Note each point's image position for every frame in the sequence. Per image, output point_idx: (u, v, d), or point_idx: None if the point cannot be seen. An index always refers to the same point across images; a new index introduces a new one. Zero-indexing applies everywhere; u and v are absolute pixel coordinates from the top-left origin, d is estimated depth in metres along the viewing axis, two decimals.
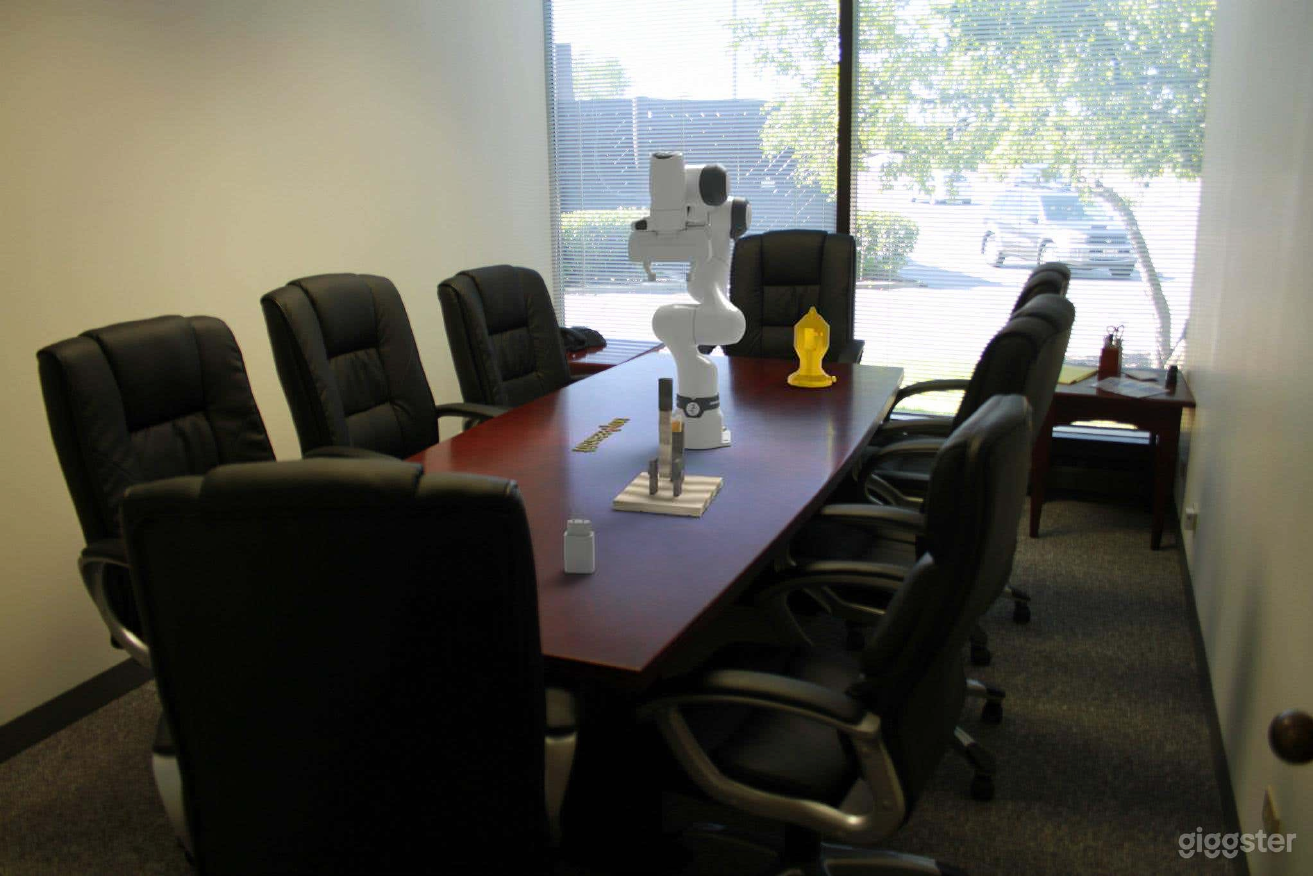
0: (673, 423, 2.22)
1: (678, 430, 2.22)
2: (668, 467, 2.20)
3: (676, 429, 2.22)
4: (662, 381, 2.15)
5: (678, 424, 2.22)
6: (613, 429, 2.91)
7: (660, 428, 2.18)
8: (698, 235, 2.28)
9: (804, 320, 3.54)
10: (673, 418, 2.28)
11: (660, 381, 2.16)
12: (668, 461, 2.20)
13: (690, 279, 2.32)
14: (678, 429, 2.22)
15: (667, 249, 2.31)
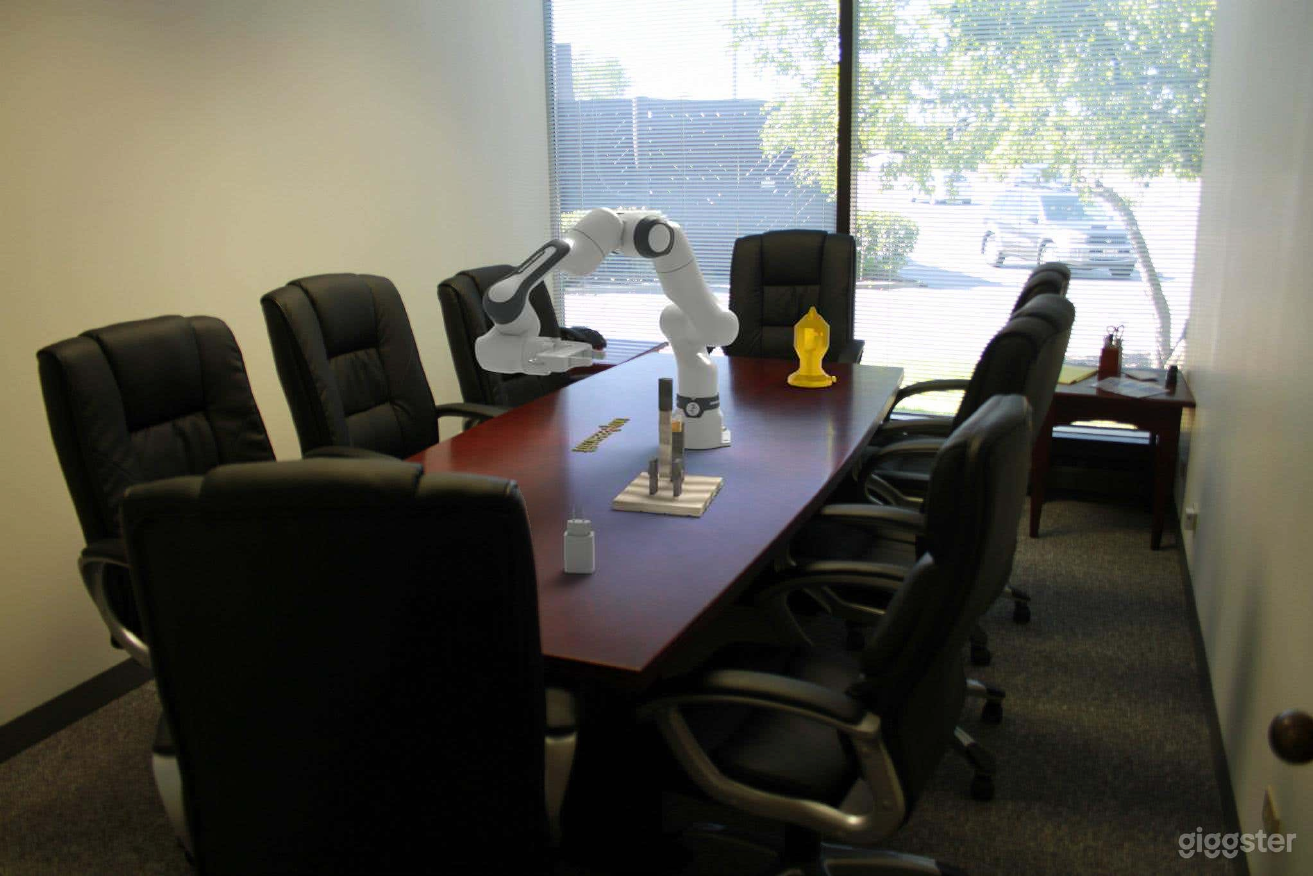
0: (673, 423, 2.22)
1: (678, 430, 2.22)
2: (668, 467, 2.20)
3: (676, 429, 2.22)
4: (662, 381, 2.15)
5: (678, 424, 2.22)
6: (613, 429, 2.91)
7: (660, 428, 2.18)
8: None
9: (804, 320, 3.54)
10: (673, 418, 2.28)
11: (660, 381, 2.16)
12: (668, 461, 2.20)
13: (589, 365, 2.19)
14: (678, 429, 2.22)
15: None
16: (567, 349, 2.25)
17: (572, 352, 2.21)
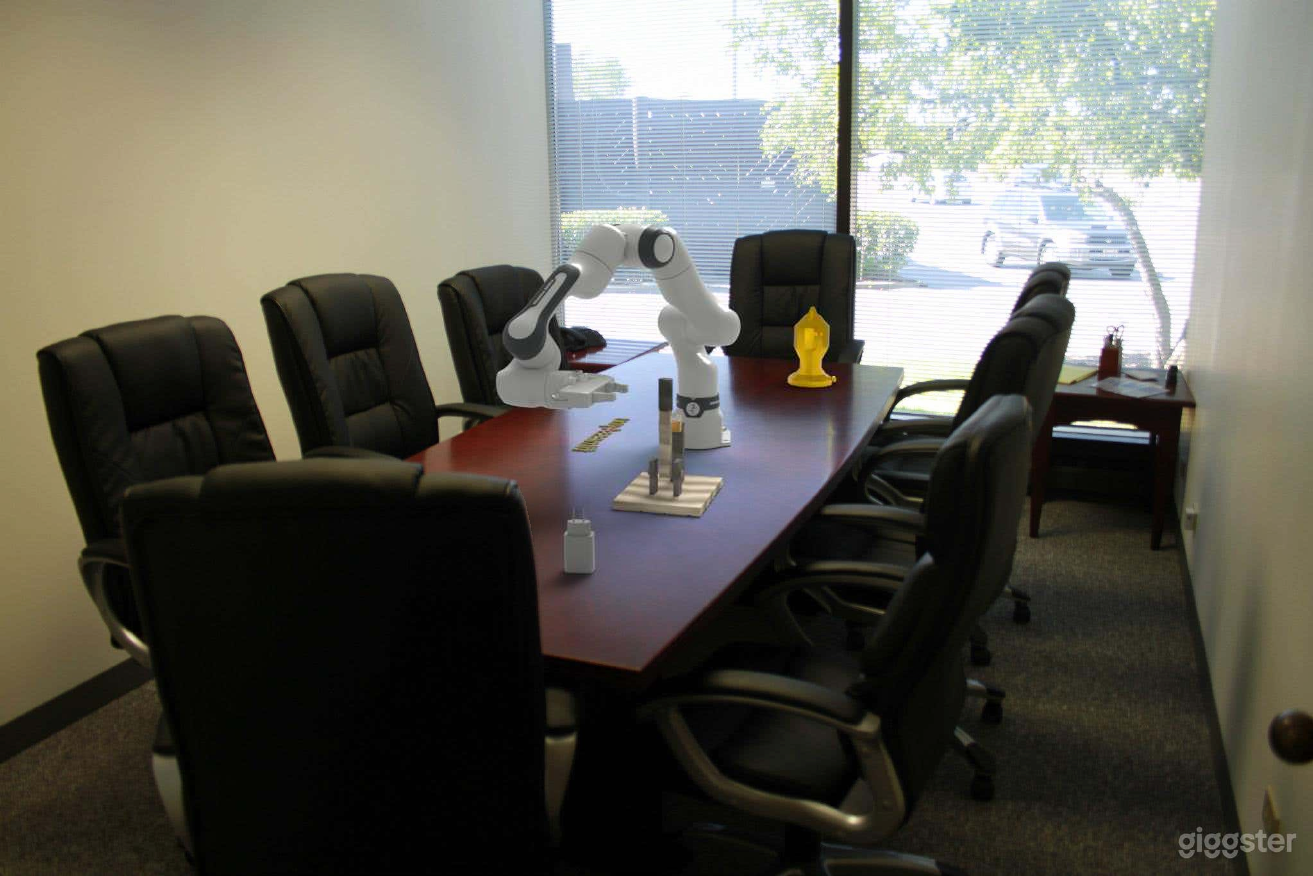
0: (673, 423, 2.22)
1: (678, 430, 2.22)
2: (668, 467, 2.20)
3: (676, 429, 2.22)
4: (662, 381, 2.15)
5: (678, 424, 2.22)
6: (613, 429, 2.91)
7: (660, 428, 2.18)
8: None
9: (804, 320, 3.54)
10: (673, 418, 2.28)
11: (660, 381, 2.16)
12: (668, 461, 2.20)
13: None
14: (678, 429, 2.22)
15: None
16: (590, 383, 2.22)
17: (595, 387, 2.18)
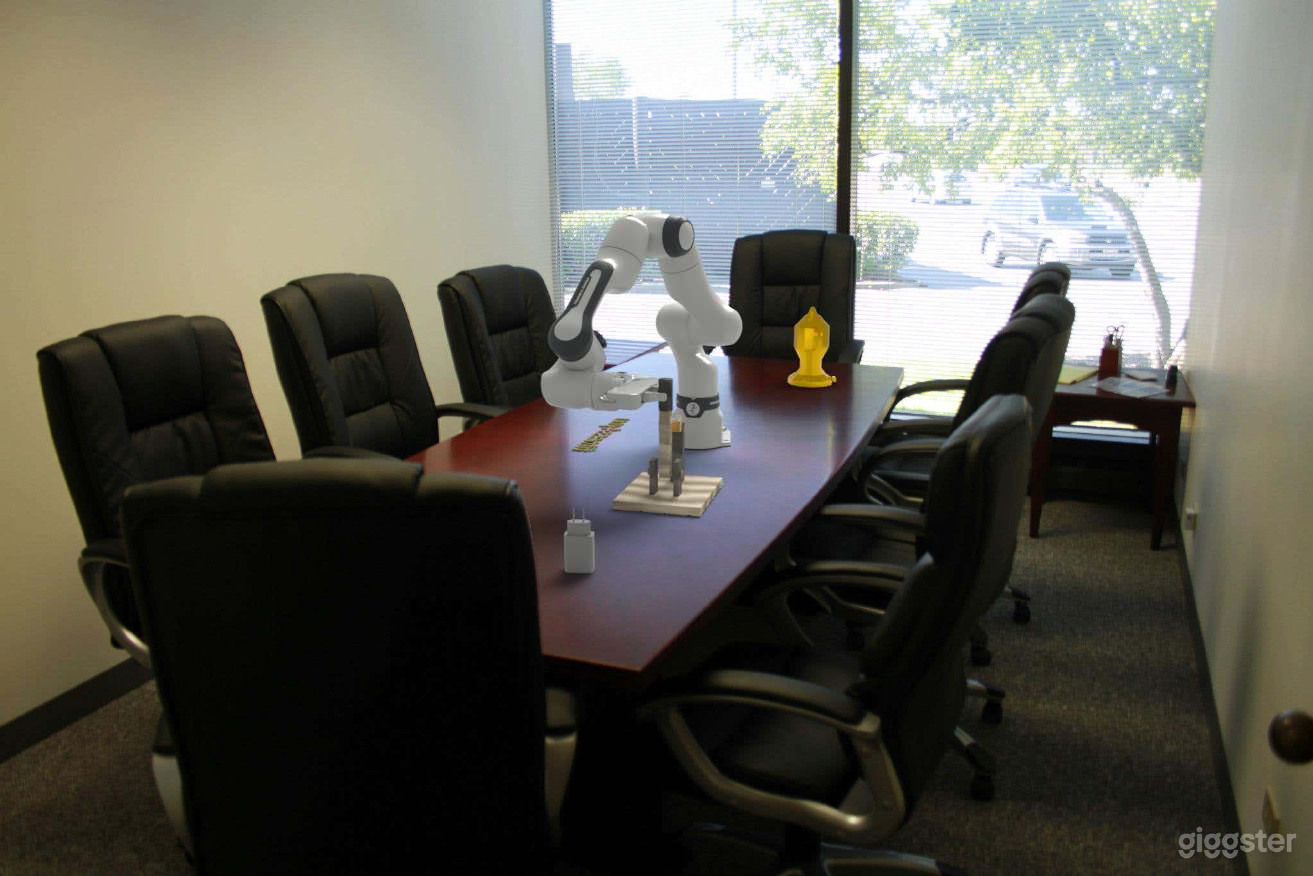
0: (673, 423, 2.22)
1: (678, 430, 2.22)
2: (668, 467, 2.20)
3: (676, 429, 2.22)
4: (662, 381, 2.15)
5: (678, 424, 2.22)
6: (613, 429, 2.91)
7: (660, 428, 2.18)
8: None
9: (804, 320, 3.54)
10: (673, 418, 2.28)
11: (660, 381, 2.16)
12: (668, 461, 2.20)
13: None
14: (678, 429, 2.22)
15: None
16: (637, 385, 2.19)
17: (643, 389, 2.15)
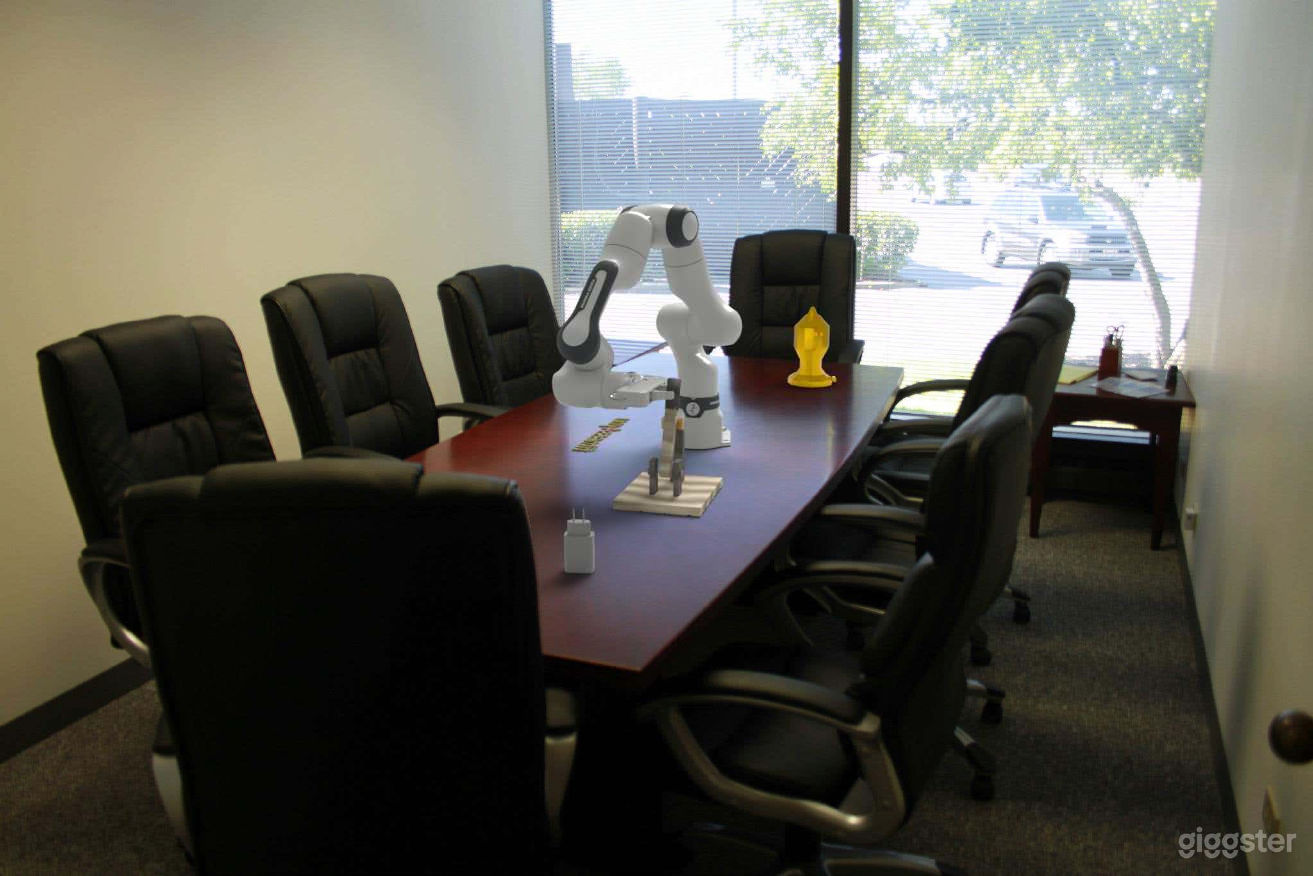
0: None
1: (681, 427, 2.24)
2: (669, 465, 2.21)
3: (679, 426, 2.24)
4: (671, 379, 2.23)
5: (681, 422, 2.24)
6: (613, 429, 2.91)
7: (665, 425, 2.22)
8: None
9: (804, 320, 3.54)
10: None
11: (669, 379, 2.23)
12: (669, 459, 2.21)
13: None
14: (681, 426, 2.24)
15: None
16: (645, 384, 2.25)
17: (651, 387, 2.22)
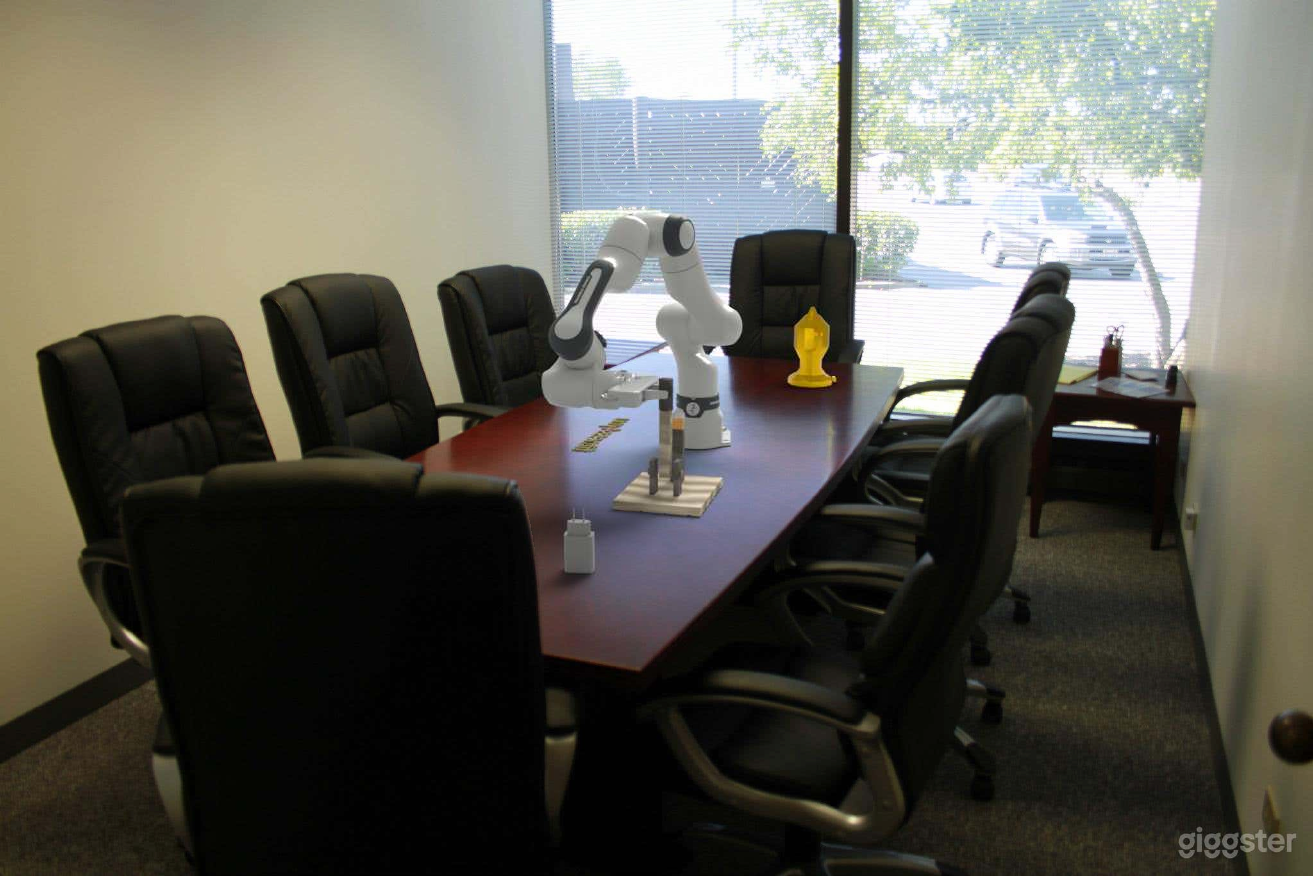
0: (676, 420, 2.24)
1: (681, 427, 2.24)
2: (668, 467, 2.20)
3: (679, 426, 2.25)
4: (662, 381, 2.16)
5: (681, 421, 2.24)
6: (613, 429, 2.91)
7: (660, 428, 2.19)
8: None
9: (804, 320, 3.54)
10: (676, 416, 2.30)
11: (660, 381, 2.16)
12: (668, 461, 2.20)
13: None
14: (681, 426, 2.24)
15: None
16: (638, 383, 2.19)
17: (644, 386, 2.15)
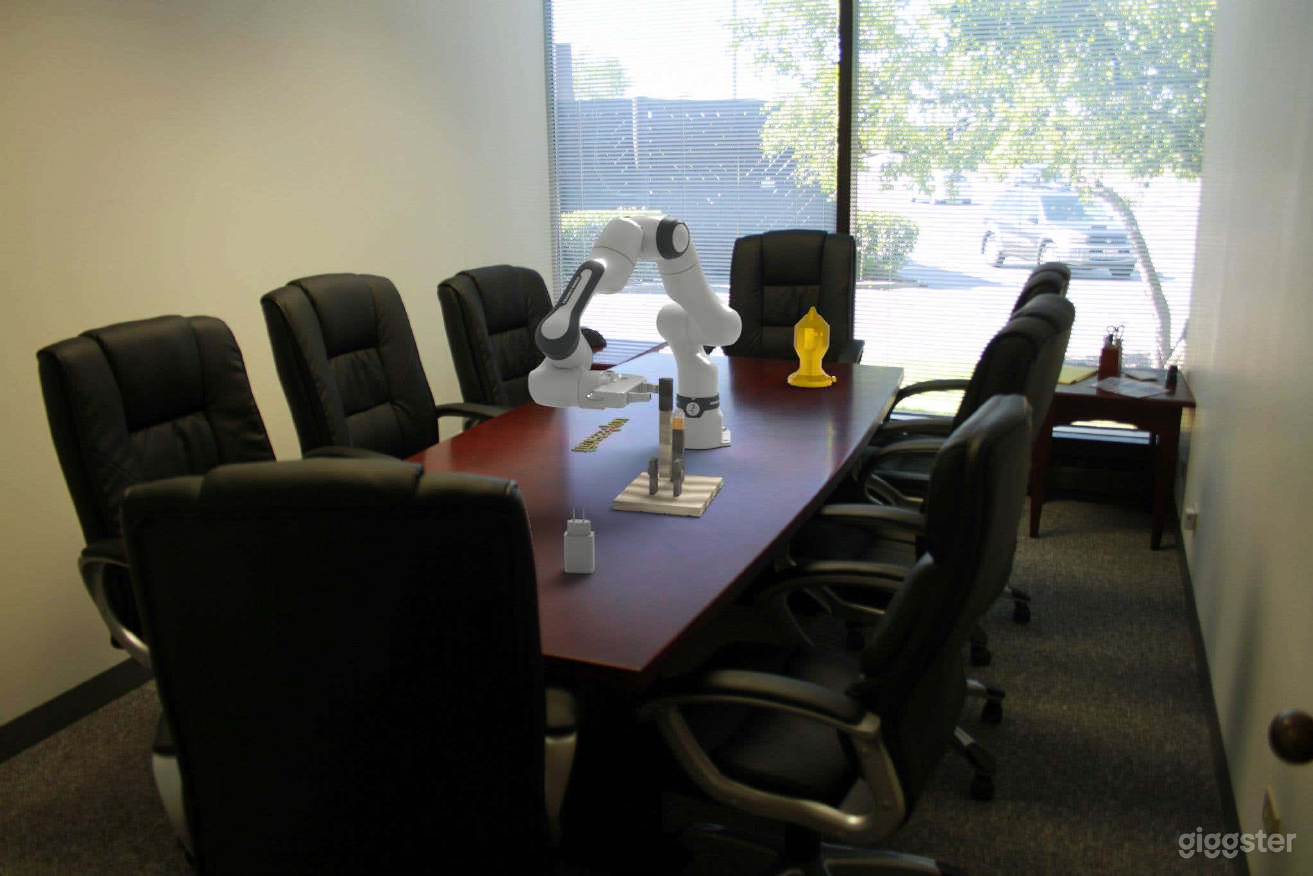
0: (676, 420, 2.24)
1: (681, 427, 2.24)
2: (668, 467, 2.20)
3: (679, 426, 2.25)
4: (662, 381, 2.16)
5: (681, 421, 2.24)
6: (613, 429, 2.91)
7: (660, 428, 2.19)
8: None
9: (804, 320, 3.54)
10: (676, 416, 2.30)
11: (660, 381, 2.16)
12: (668, 461, 2.20)
13: None
14: (681, 426, 2.24)
15: None
16: (624, 383, 2.20)
17: (630, 387, 2.16)
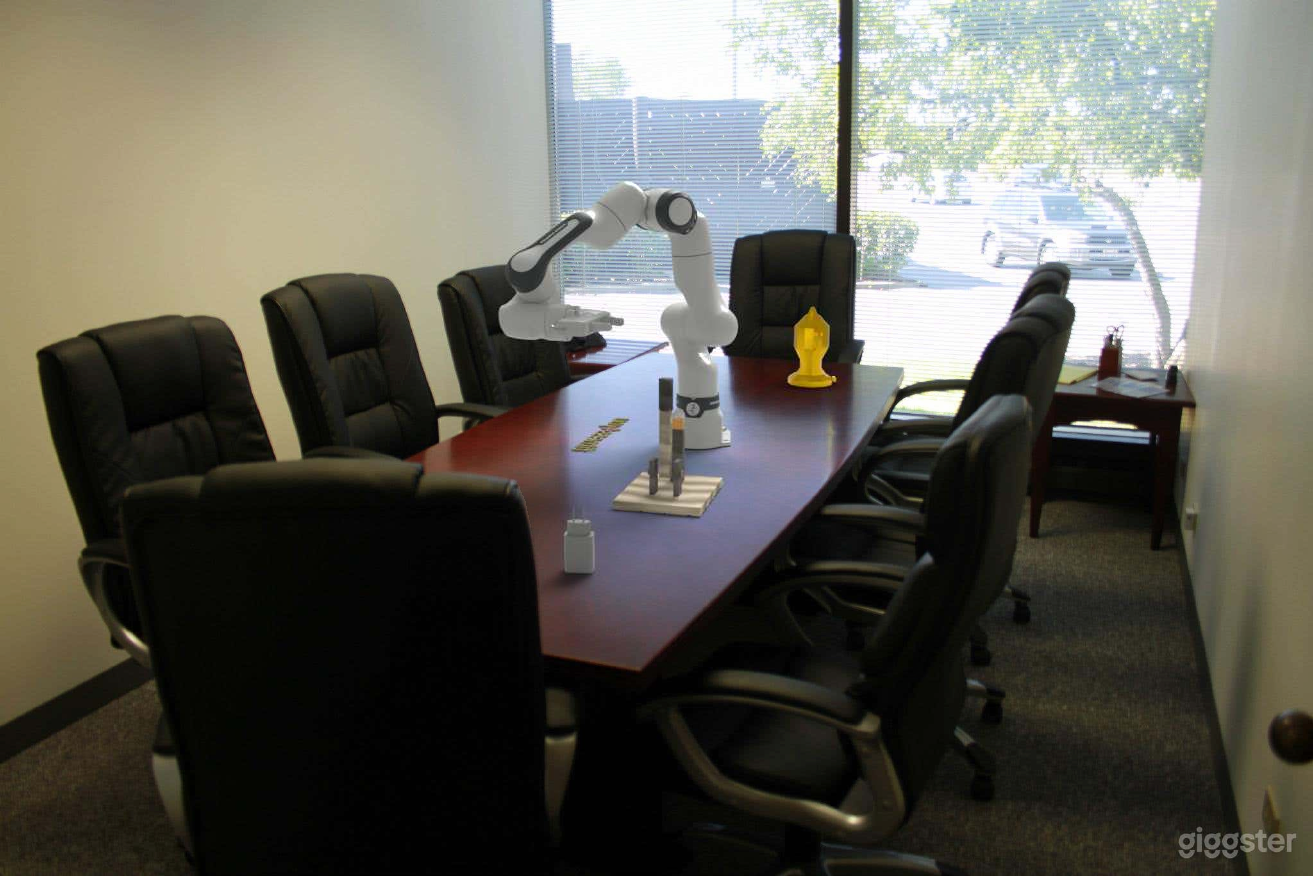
0: (676, 420, 2.24)
1: (681, 427, 2.24)
2: (668, 467, 2.20)
3: (679, 426, 2.25)
4: (662, 381, 2.16)
5: (681, 421, 2.24)
6: (613, 429, 2.91)
7: (660, 428, 2.19)
8: None
9: (804, 320, 3.54)
10: (676, 416, 2.30)
11: (660, 381, 2.16)
12: (668, 461, 2.20)
13: (608, 330, 2.29)
14: (681, 426, 2.24)
15: None
16: (587, 316, 2.35)
17: (592, 318, 2.31)
